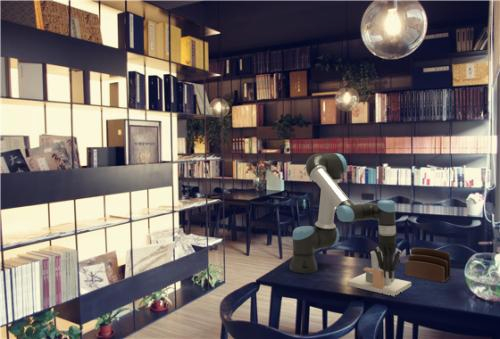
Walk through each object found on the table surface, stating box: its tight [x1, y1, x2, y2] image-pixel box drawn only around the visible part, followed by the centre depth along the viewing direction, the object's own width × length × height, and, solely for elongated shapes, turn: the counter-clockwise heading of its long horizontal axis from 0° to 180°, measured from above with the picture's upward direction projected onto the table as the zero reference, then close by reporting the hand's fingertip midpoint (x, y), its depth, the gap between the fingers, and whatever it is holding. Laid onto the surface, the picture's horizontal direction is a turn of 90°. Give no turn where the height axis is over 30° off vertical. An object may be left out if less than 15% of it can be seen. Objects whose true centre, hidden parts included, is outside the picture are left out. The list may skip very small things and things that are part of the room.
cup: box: [370, 250, 383, 269], centre depth 226 cm, size 8×8×12 cm
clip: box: [362, 266, 385, 289], centre depth 203 cm, size 9×4×8 cm, turn 47°
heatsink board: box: [346, 263, 412, 297], centre depth 209 cm, size 24×19×9 cm
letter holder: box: [404, 247, 451, 283], centre depth 223 cm, size 10×20×14 cm, turn 49°
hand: (388, 285), depth 198 cm, fingers closed
